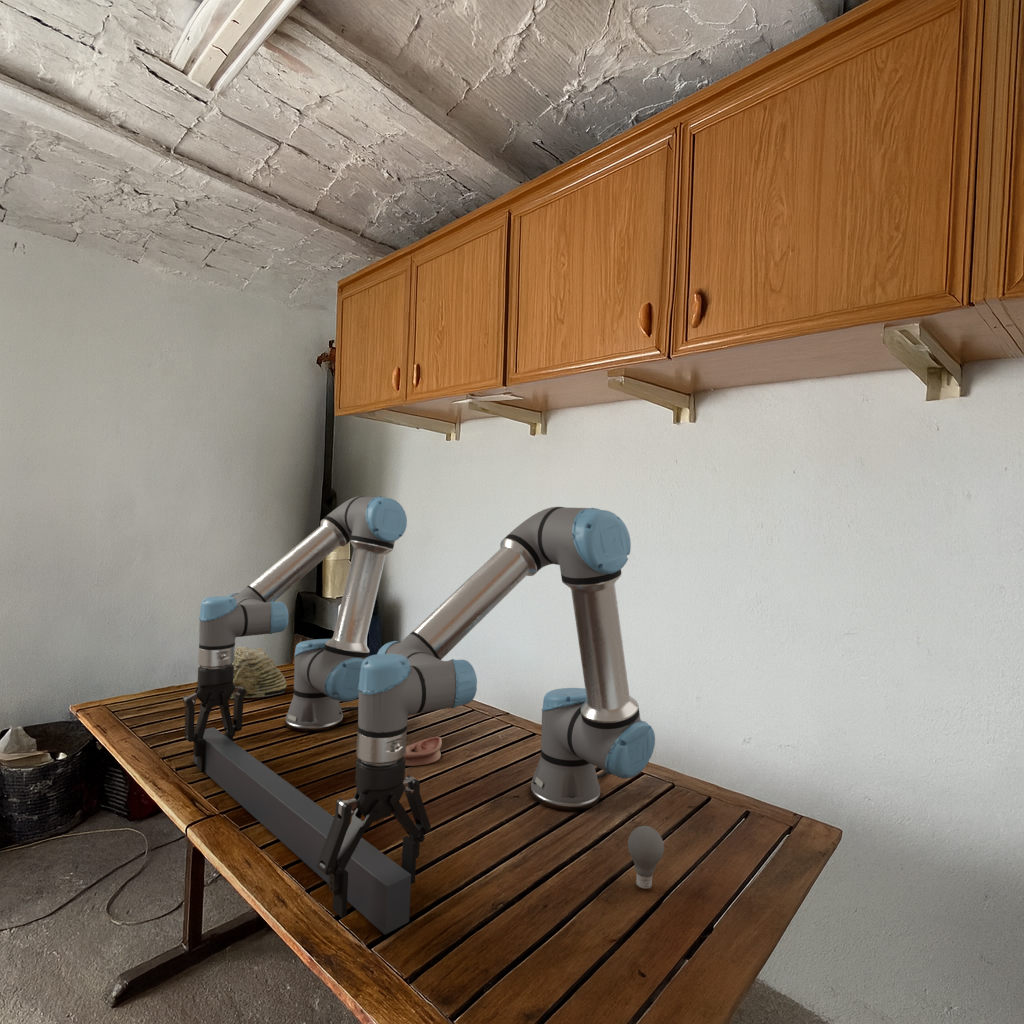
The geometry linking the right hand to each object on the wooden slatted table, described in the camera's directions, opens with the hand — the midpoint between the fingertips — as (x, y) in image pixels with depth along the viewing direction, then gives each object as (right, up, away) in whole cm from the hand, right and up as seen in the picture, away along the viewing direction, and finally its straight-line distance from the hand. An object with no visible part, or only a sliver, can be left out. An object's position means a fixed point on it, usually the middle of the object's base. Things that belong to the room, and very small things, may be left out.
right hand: (375, 895), depth 98 cm
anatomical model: (-3, -1, +57) cm, 58 cm away
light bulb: (+43, -4, +9) cm, 44 cm away
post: (-24, -1, +24) cm, 33 cm away
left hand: (-47, +1, +47) cm, 67 cm away
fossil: (-59, +2, +100) cm, 116 cm away
